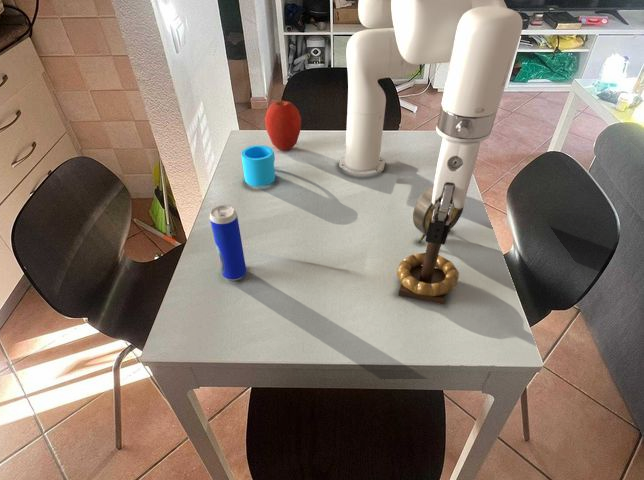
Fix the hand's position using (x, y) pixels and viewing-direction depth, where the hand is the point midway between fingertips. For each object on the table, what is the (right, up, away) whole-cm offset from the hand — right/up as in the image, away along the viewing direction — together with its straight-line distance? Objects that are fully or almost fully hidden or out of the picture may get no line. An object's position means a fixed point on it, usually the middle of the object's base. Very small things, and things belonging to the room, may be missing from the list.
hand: (438, 225), depth 73 cm
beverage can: (-38, -5, +18) cm, 43 cm away
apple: (-29, +40, +56) cm, 74 cm away
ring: (+2, -6, +13) cm, 14 cm away
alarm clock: (+6, +5, +26) cm, 27 cm away
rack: (+1, -8, +14) cm, 17 cm away
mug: (-34, +25, +44) cm, 61 cm away
